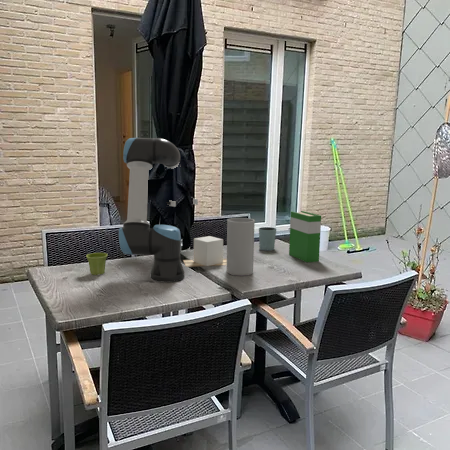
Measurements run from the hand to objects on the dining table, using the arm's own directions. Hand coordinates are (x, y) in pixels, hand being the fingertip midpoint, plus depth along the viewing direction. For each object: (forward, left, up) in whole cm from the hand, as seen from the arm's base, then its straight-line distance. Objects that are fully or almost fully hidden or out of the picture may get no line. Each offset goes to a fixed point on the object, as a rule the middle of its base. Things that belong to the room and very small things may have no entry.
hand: (186, 202), depth 226 cm
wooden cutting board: (-6, -10, -30) cm, 32 cm away
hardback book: (-2, -63, -30) cm, 70 cm away
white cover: (-6, -10, -29) cm, 32 cm away
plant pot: (-16, +43, -30) cm, 55 cm away
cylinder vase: (-24, -22, -30) cm, 45 cm away
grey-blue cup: (+22, -49, -30) cm, 62 cm away
